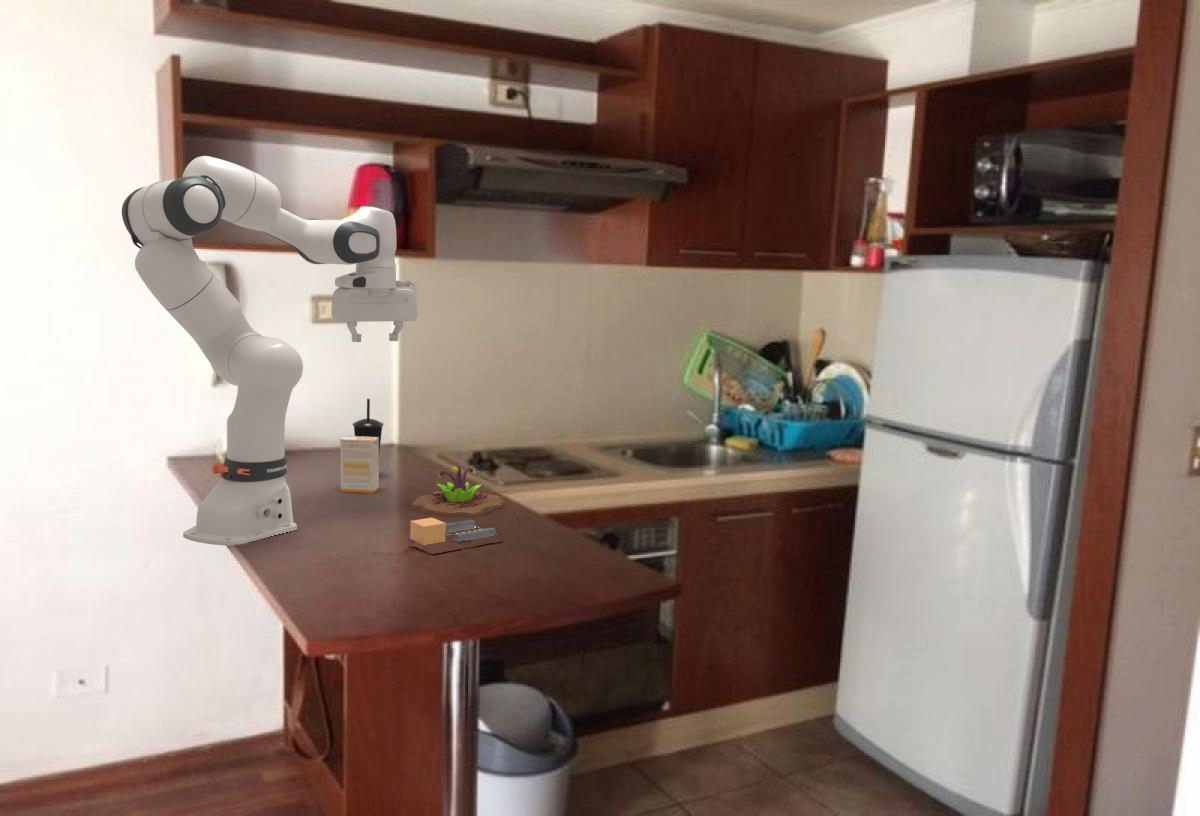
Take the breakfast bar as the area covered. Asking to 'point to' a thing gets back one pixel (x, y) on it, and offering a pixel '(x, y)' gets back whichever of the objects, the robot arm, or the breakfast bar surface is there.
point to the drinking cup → (368, 426)
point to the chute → (470, 534)
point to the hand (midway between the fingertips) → (375, 341)
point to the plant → (457, 498)
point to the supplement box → (359, 464)
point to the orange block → (427, 531)
